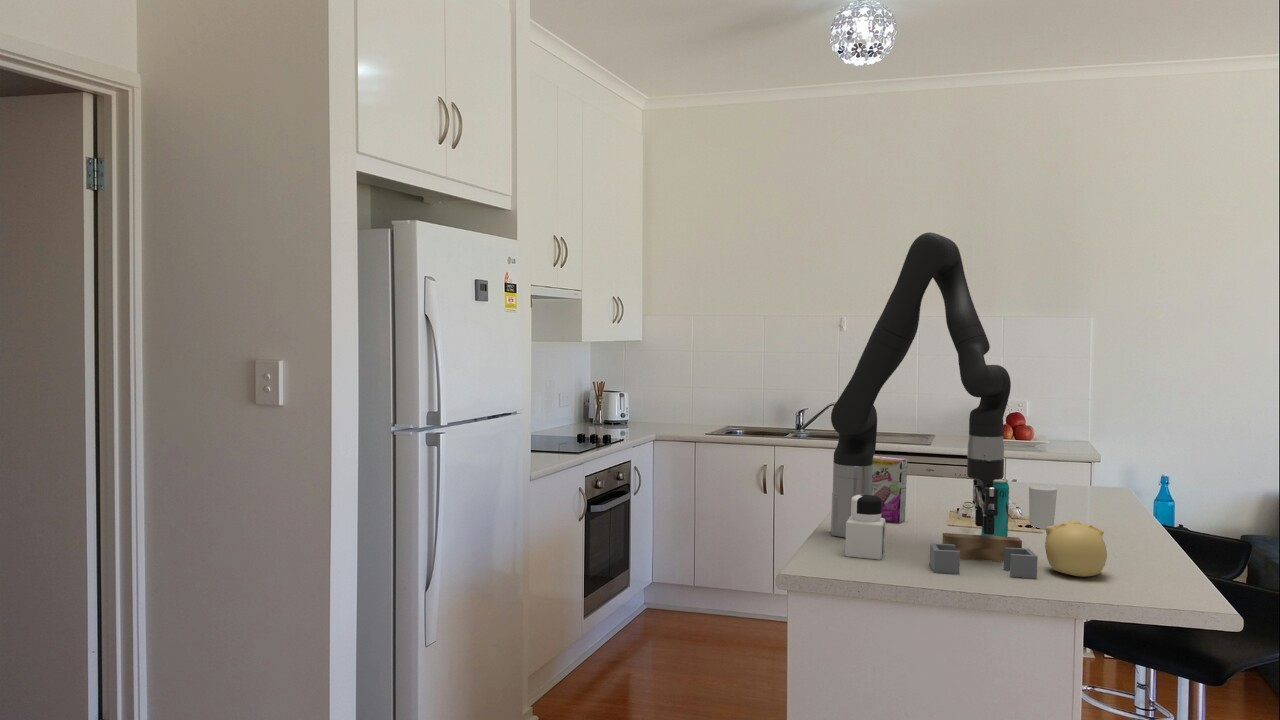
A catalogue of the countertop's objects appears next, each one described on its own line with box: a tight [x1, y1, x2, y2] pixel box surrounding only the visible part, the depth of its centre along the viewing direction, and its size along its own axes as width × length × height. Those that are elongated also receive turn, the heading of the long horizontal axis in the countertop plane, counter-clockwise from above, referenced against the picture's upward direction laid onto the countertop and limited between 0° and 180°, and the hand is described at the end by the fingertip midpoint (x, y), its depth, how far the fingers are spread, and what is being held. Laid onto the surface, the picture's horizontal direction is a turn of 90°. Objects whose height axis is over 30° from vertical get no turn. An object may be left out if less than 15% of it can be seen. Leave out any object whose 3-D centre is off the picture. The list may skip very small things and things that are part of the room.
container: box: [844, 495, 886, 561], centre depth 211 cm, size 8×8×13 cm
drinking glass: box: [1028, 485, 1058, 530], centre depth 246 cm, size 7×7×10 cm
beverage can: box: [980, 478, 1010, 537], centre depth 226 cm, size 6×6×15 cm
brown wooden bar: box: [941, 532, 1023, 562], centre depth 210 cm, size 16×4×5 cm, turn 80°
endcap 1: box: [929, 542, 961, 575], centre depth 200 cm, size 5×7×4 cm
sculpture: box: [1044, 520, 1108, 577], centre depth 199 cm, size 11×12×11 cm
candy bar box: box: [872, 455, 908, 524], centre depth 251 cm, size 11×5×16 cm, turn 58°
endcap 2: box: [1003, 547, 1038, 579], centre depth 198 cm, size 5×7×4 cm
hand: (984, 530), depth 210 cm, fingers open, 8 cm apart
